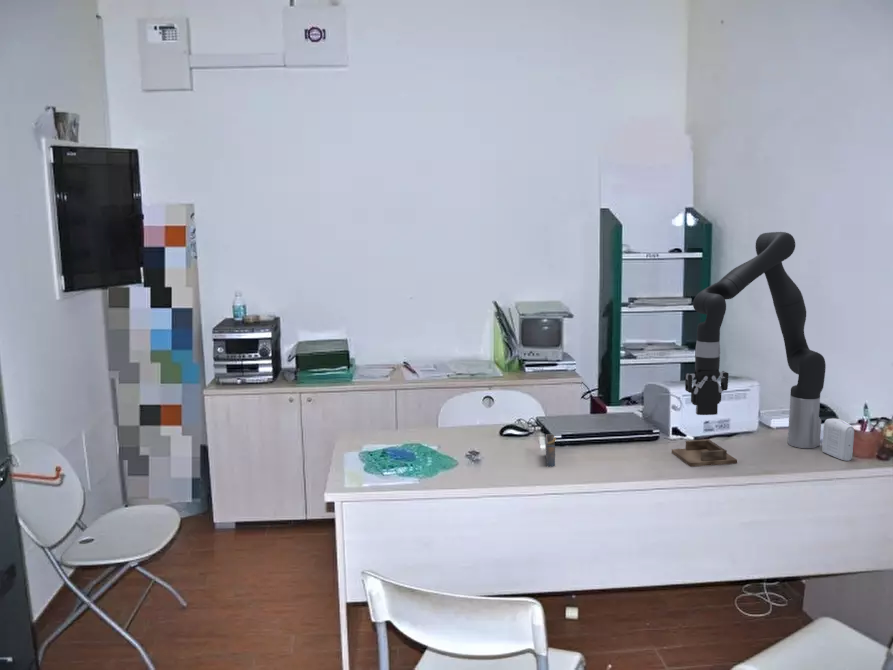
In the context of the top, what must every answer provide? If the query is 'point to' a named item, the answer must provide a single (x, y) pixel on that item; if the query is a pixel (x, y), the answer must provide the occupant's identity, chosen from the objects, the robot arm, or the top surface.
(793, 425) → the robot arm
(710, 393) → the battery
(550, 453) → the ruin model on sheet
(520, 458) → the top surface
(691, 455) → the u rest
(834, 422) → the photo printer
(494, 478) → the top surface
